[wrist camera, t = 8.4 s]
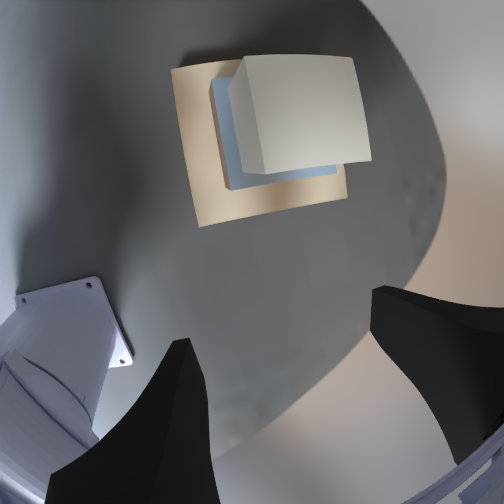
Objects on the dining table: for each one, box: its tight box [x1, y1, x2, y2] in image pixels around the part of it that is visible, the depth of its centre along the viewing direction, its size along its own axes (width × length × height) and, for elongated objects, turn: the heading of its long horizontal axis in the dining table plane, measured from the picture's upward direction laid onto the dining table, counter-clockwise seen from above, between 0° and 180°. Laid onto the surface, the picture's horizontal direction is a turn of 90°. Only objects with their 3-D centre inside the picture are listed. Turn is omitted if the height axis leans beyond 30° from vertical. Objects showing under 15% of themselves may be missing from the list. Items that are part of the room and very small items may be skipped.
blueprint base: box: [171, 59, 347, 227], centre depth 15 cm, size 10×10×4 cm
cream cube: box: [228, 54, 371, 174], centre depth 11 cm, size 4×4×4 cm
